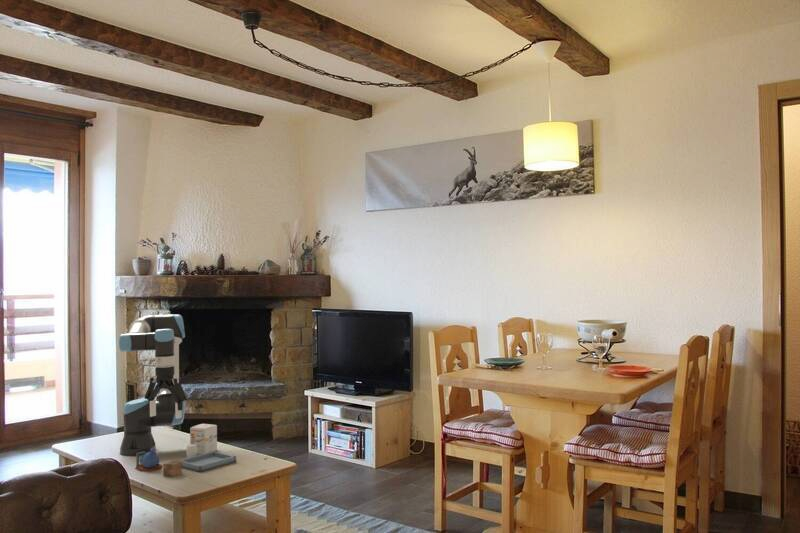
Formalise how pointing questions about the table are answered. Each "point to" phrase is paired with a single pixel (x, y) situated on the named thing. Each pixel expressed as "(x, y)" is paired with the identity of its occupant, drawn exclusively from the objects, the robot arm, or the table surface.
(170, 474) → the walnut cube
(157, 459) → the model
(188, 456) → the white egg
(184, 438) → the table surface
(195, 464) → the tray
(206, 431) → the ink box
